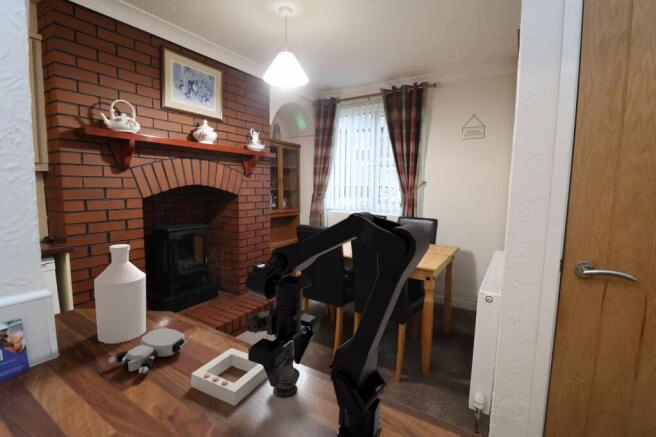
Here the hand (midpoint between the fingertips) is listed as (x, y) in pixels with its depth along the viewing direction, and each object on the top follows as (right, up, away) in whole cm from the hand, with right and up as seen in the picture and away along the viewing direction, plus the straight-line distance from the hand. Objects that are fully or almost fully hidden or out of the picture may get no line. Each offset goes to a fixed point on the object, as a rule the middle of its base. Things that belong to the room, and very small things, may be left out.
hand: (286, 374), depth 67 cm
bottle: (-49, +1, +21) cm, 53 cm away
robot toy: (-34, -1, +10) cm, 36 cm away
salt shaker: (0, -4, 0) cm, 4 cm away
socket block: (-12, -3, +3) cm, 13 cm away
